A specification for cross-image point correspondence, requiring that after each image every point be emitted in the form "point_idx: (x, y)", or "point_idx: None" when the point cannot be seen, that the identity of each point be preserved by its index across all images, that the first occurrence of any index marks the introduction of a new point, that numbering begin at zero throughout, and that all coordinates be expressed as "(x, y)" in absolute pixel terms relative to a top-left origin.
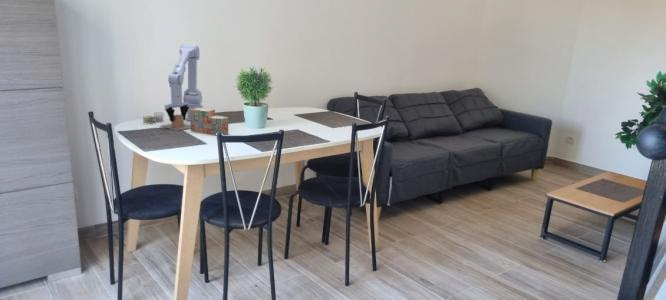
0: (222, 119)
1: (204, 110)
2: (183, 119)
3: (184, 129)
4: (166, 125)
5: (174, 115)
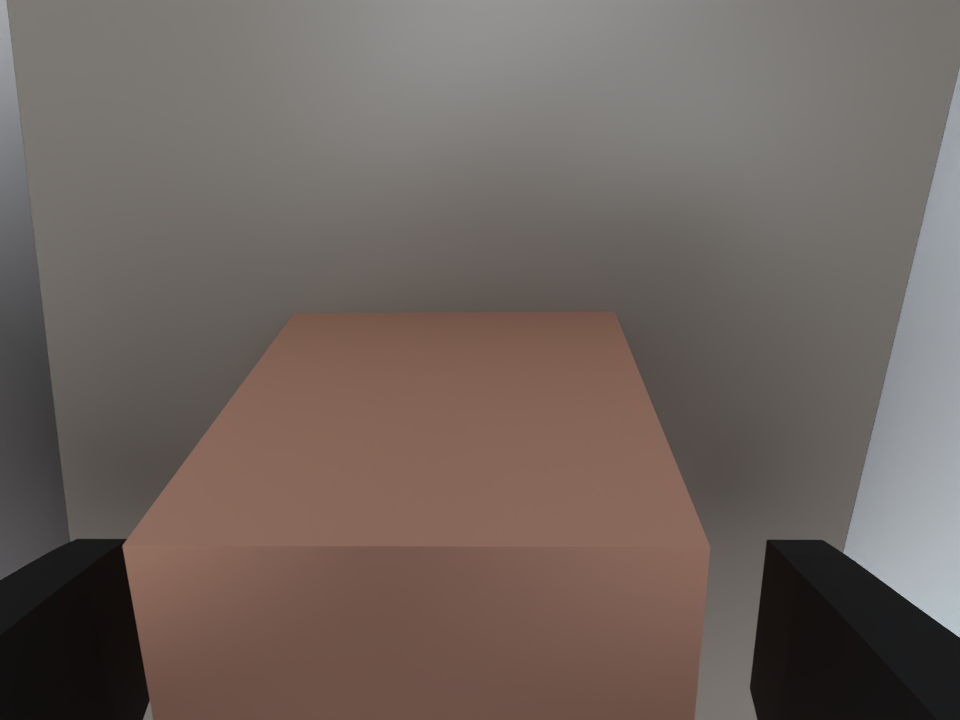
0: None
1: None
2: (754, 649)
3: None
4: (214, 34)
5: (324, 643)
